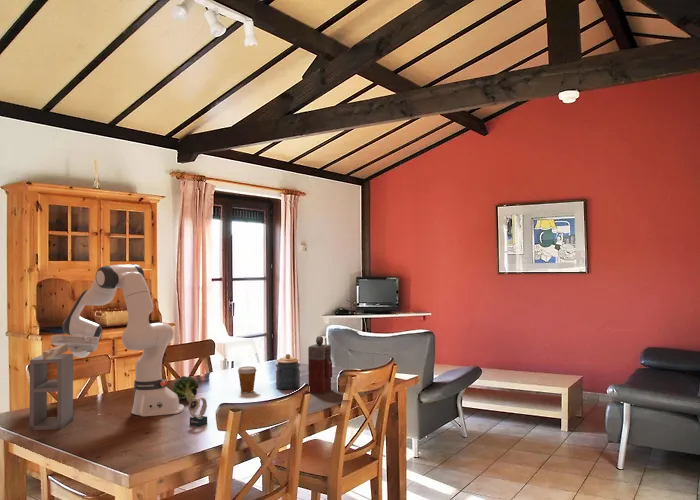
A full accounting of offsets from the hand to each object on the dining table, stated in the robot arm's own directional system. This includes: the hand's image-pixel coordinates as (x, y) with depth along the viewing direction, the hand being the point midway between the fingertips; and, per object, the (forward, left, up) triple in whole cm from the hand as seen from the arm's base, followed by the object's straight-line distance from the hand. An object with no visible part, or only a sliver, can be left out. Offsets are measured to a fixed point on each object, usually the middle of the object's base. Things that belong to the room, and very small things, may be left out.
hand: (73, 337), depth 264 cm
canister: (-98, -31, -33) cm, 108 cm away
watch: (-60, +33, -33) cm, 76 cm away
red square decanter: (-115, -19, -33) cm, 121 cm away
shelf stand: (0, +22, -33) cm, 39 cm away
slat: (0, +20, -5) cm, 20 cm away
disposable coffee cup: (-77, -25, -33) cm, 87 cm away
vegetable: (-49, -11, -33) cm, 60 cm away
